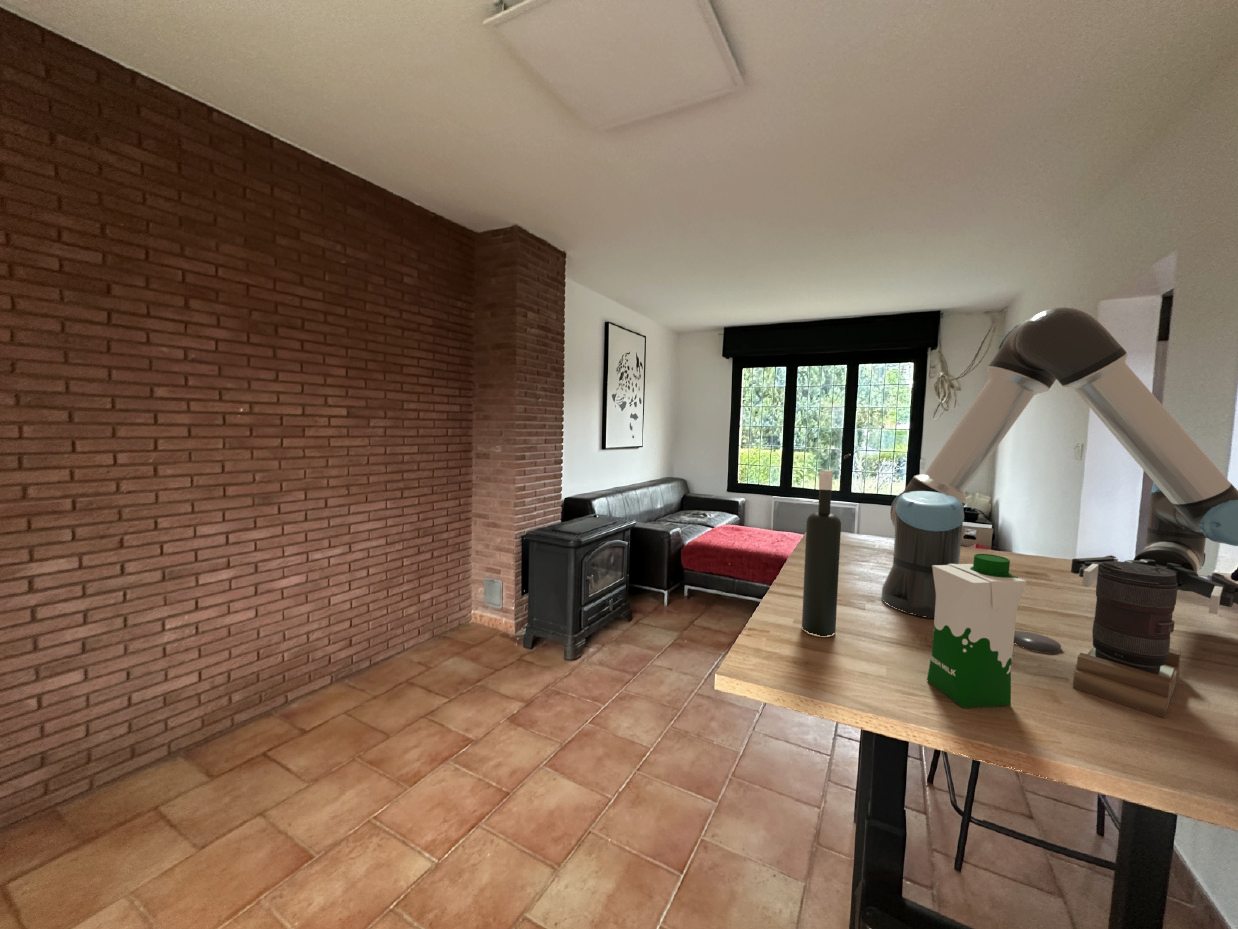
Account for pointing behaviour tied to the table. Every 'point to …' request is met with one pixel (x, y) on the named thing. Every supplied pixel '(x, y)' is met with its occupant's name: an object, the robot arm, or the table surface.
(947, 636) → the milk carton
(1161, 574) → the camera lens
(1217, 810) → the table surface
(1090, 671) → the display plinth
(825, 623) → the wine bottle
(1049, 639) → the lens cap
